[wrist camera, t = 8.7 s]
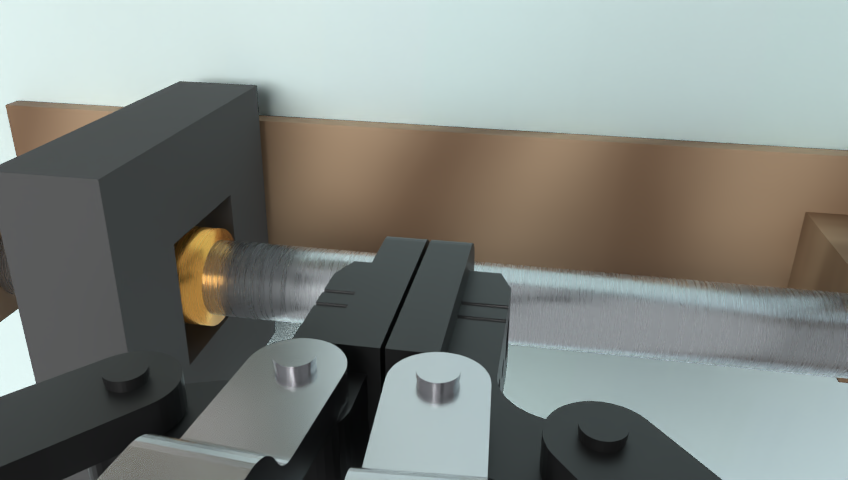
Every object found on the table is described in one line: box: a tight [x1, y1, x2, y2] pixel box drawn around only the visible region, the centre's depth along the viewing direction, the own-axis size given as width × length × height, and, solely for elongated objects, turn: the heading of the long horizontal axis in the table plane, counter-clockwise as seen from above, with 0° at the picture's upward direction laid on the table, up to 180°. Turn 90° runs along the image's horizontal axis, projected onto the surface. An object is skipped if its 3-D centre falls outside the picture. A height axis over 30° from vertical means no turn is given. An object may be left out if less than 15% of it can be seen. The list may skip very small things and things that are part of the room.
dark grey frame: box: [0, 81, 275, 480], centre depth 20 cm, size 2×8×8 cm, turn 178°
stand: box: [0, 101, 848, 383], centre depth 20 cm, size 28×6×8 cm, turn 88°
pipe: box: [0, 226, 848, 378], centre depth 19 cm, size 25×3×3 cm, turn 88°
